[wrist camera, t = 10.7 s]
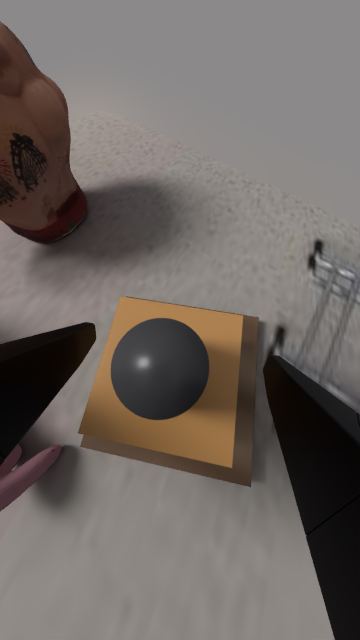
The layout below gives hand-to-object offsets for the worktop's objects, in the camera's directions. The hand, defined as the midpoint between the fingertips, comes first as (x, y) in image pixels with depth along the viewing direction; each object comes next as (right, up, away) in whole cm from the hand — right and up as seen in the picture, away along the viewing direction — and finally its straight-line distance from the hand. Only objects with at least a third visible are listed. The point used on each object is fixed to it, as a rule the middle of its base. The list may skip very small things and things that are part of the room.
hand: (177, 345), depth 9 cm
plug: (0, -4, +7) cm, 8 cm away
